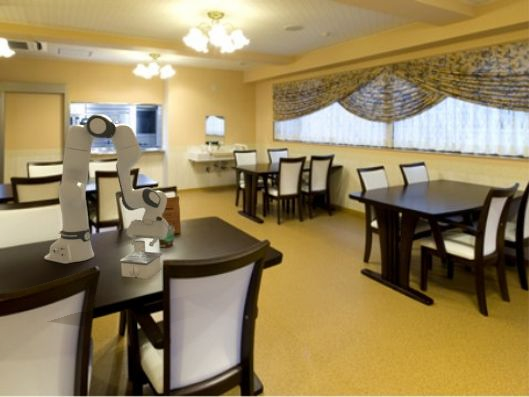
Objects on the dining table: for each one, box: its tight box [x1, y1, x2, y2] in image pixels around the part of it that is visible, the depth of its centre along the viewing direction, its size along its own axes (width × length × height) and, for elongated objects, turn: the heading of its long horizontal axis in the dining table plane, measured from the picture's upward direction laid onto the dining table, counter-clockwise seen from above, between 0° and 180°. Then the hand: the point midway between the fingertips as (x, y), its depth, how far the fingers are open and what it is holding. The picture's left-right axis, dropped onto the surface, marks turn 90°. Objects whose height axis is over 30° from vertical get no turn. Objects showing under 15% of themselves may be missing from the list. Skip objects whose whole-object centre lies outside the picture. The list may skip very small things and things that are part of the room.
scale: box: [120, 256, 162, 280], centre depth 172 cm, size 12×12×6 cm
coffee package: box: [162, 195, 182, 235], centre depth 234 cm, size 10×12×22 cm
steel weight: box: [133, 240, 146, 252], centre depth 187 cm, size 5×5×9 cm
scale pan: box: [119, 251, 163, 265], centre depth 171 cm, size 13×13×1 cm
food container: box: [158, 225, 175, 249], centre depth 209 cm, size 12×6×10 cm, turn 168°
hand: (141, 245), depth 189 cm, fingers open, 8 cm apart
